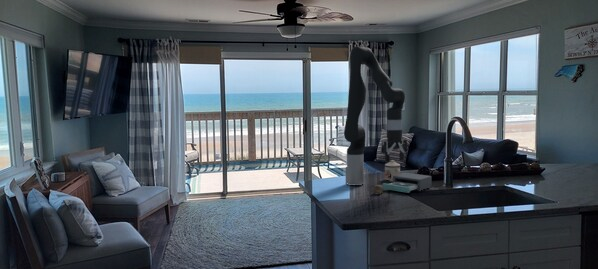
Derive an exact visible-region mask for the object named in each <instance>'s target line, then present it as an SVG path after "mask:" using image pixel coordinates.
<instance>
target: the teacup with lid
mask: <svg viewBox="0 0 598 269" xmlns="http://www.w3.org/2000/svg"><path fill="white" fill-rule="evenodd" d="M398 174H401V164H400V163H397V162H396V161H395V160H394V159H391V160H390V161H389V162H386V163H385V164H384V180H385V179H386V180H393V176H395V175H398ZM386 180H385V181H386Z"/></svg>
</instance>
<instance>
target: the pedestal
mask: <svg viewBox="0 0 598 269" xmlns="http://www.w3.org/2000/svg"><path fill="white" fill-rule="evenodd" d="M373 191H374V192H373V194H374V193H378V194H380V195H382V194H383V184H375V185H374V186H373ZM381 193H382V194H381Z"/></svg>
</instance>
